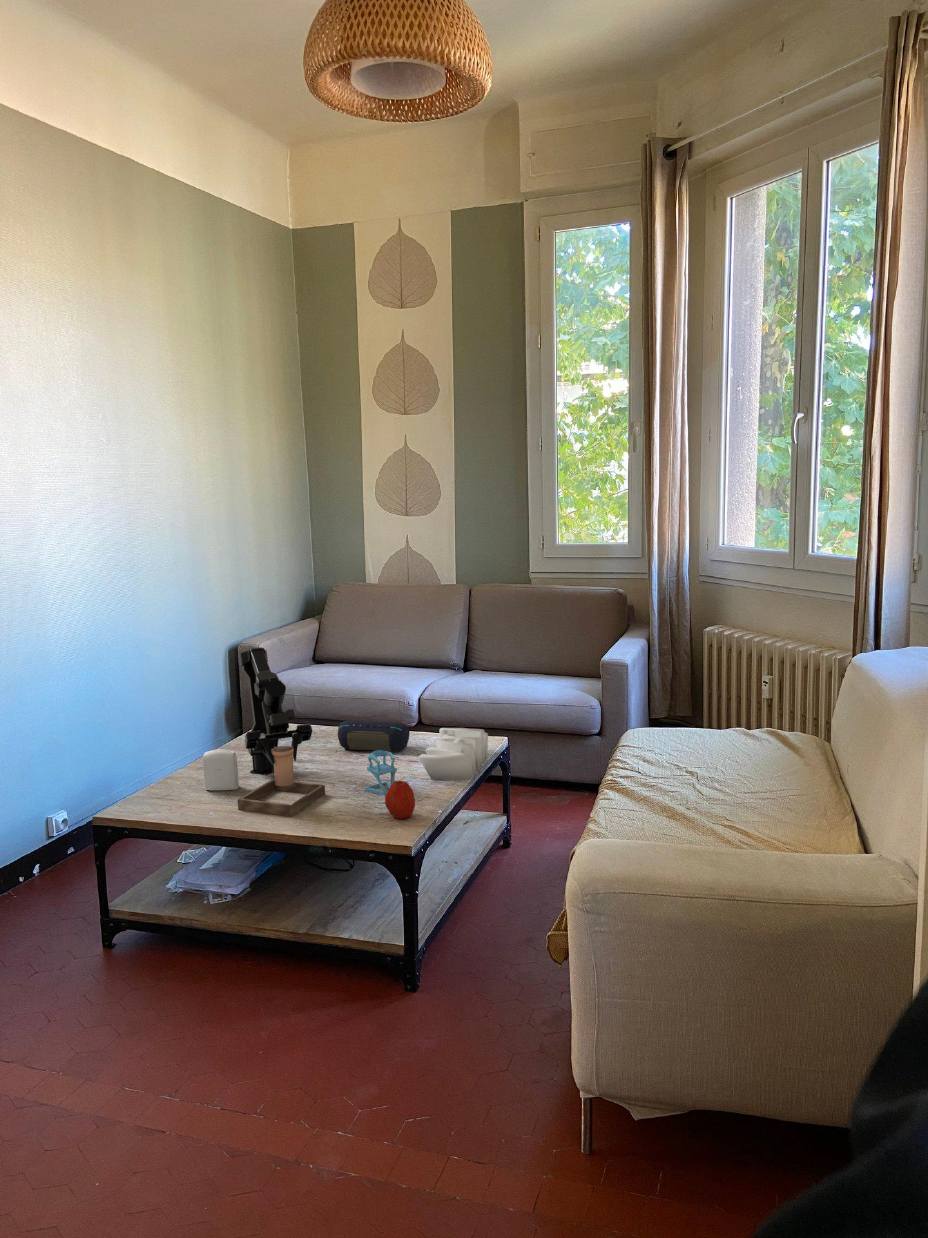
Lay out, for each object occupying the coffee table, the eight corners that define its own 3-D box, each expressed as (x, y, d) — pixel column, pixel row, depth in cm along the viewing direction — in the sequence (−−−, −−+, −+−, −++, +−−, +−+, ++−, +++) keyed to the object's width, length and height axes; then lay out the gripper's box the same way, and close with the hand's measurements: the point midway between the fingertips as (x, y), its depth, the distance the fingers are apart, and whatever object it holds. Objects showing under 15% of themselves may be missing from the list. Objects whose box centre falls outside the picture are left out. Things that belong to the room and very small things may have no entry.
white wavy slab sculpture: (465, 788, 267) (464, 754, 265) (413, 783, 272) (412, 750, 270) (496, 752, 300) (496, 722, 298) (450, 749, 305) (449, 719, 303)
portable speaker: (333, 752, 305) (332, 724, 303) (344, 743, 314) (342, 716, 313) (404, 756, 299) (402, 727, 297) (412, 747, 309) (411, 719, 307)
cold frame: (238, 809, 255) (237, 799, 254) (273, 788, 271) (272, 778, 271) (292, 816, 248) (292, 806, 248) (325, 794, 265) (324, 784, 264)
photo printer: (203, 791, 270) (200, 752, 268) (207, 786, 274) (204, 748, 272) (237, 791, 270) (234, 751, 268) (240, 786, 274) (238, 747, 272)
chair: (378, 797, 261) (377, 758, 259) (364, 790, 268) (362, 751, 266) (401, 791, 265) (399, 753, 263) (386, 784, 272) (385, 746, 270)
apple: (380, 820, 244) (379, 782, 242) (394, 809, 251) (393, 773, 249) (407, 824, 240) (405, 786, 239) (421, 813, 248) (419, 776, 246)
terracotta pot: (269, 785, 254) (267, 751, 252) (281, 778, 259) (279, 745, 258) (288, 787, 252) (286, 753, 250) (299, 780, 257) (297, 746, 256)
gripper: (243, 704, 252) (253, 753, 243) (309, 696, 259) (320, 743, 251) (241, 724, 260) (250, 772, 252) (304, 716, 267) (315, 762, 259)
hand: (284, 762), depth 253 cm, fingers closed on terracotta pot, 6 cm apart
